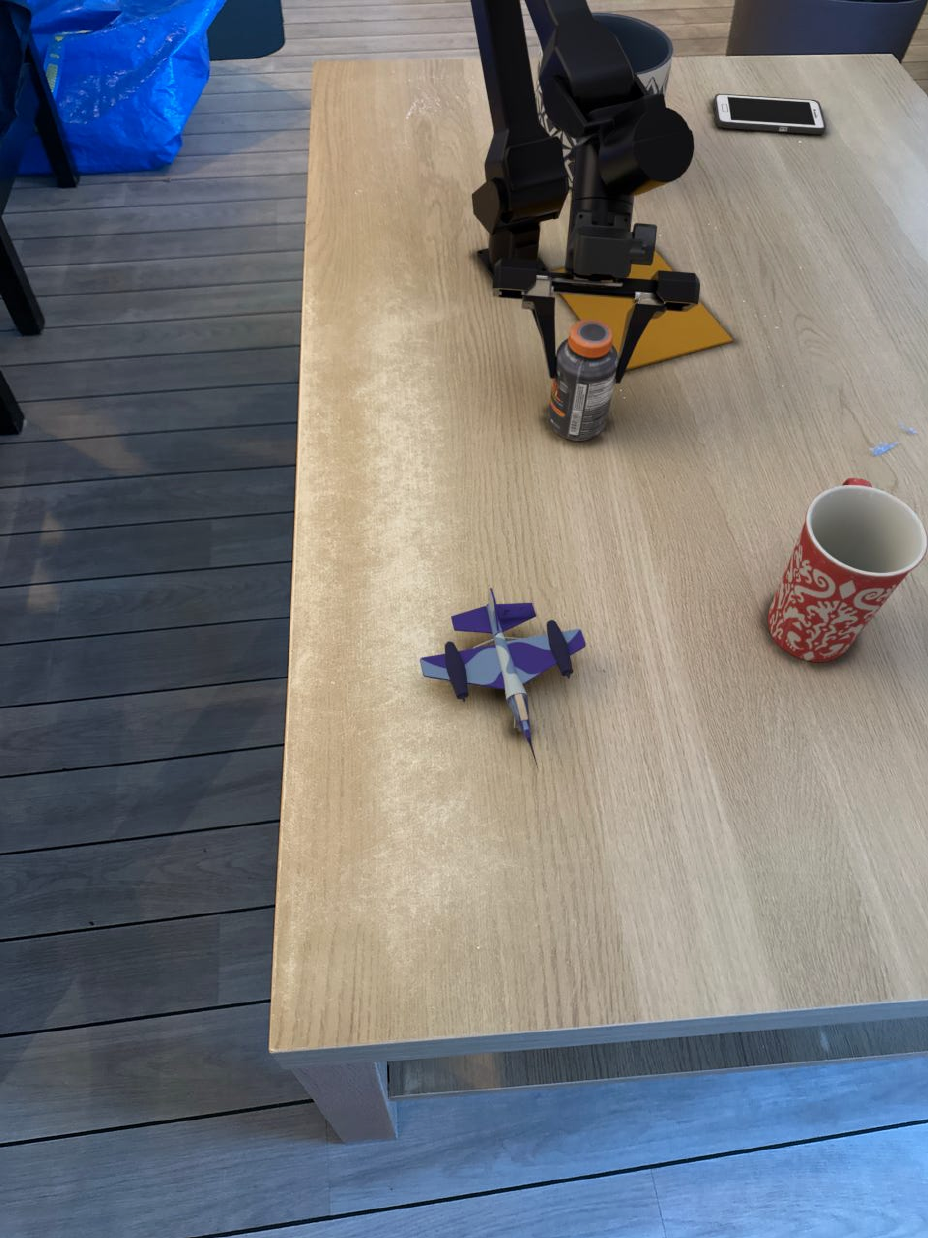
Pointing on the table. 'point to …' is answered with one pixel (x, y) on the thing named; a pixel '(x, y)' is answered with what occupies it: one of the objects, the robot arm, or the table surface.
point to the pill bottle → (583, 381)
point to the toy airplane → (504, 656)
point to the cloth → (652, 322)
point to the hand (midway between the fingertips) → (584, 381)
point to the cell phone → (769, 113)
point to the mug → (844, 568)
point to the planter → (645, 55)
